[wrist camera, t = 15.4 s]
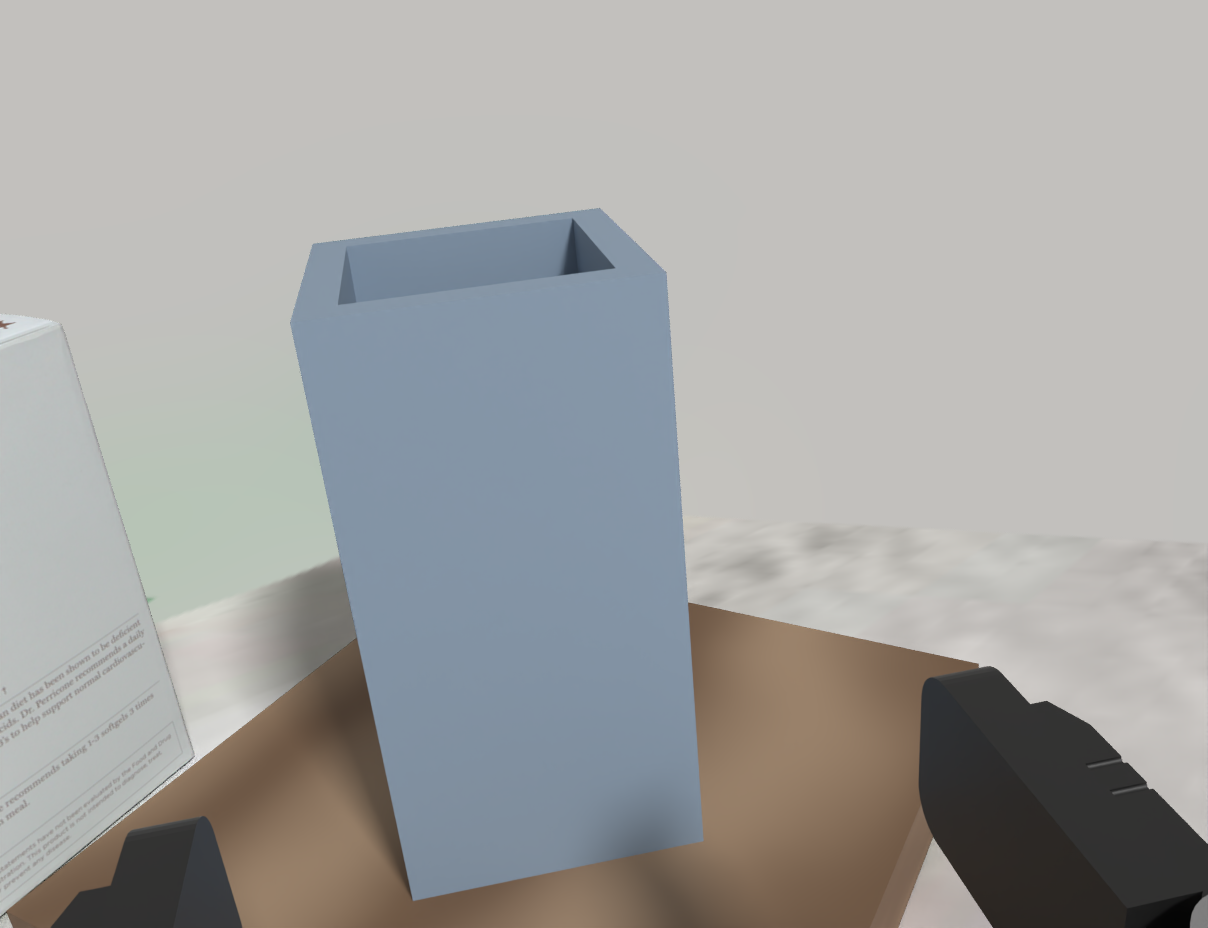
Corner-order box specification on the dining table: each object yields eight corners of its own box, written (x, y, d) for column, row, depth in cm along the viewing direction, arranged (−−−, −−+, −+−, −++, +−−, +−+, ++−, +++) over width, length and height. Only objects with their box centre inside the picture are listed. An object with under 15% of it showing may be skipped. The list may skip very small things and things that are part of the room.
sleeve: (703, 840, 23) (666, 272, 18) (412, 901, 22) (289, 322, 17) (641, 677, 28) (599, 207, 23) (406, 720, 27) (313, 243, 22)
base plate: (35, 980, 23) (6, 910, 22) (471, 608, 36) (463, 554, 35) (724, 1379, 16) (718, 1295, 15) (974, 728, 28) (978, 663, 27)
